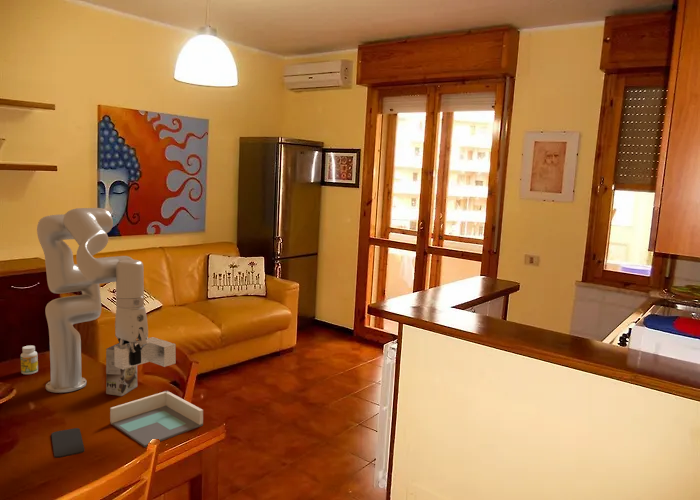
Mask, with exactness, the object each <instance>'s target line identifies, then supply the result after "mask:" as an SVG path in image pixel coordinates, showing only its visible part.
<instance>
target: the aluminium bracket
mask: <svg viewBox="0 0 700 500" xmlns="http://www.w3.org/2000/svg"><path fill="white" fill-rule="evenodd" d="M146 342H147V344H146V345H145V346H144V347H143V348H142V351H141V363H140V364H136V365H133V366H137V367H138V366H139V365H143V364H146V363H149V362H150V363H153V364H155V365H158V366H161V367H164V368H166V367H168V366H172V365H175V364H176V349H177V348H176V346H177V345H176V343H172V342H170V341H168V340H164V339H160V338H157V337H154V336H153V337H152V336H151V337H148V339H147V340H146ZM137 344H138V343H135V346H136V345H137ZM130 352H132V349H131V343H127V344H123V345H119V346H115V347H114V358H115V367H117V368H120V369H122V370H123V369H127V368H130V367H133V366H132V365H131V364H130Z"/></svg>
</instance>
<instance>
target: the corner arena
mask: <svg viewBox="0 0 700 500" xmlns="http://www.w3.org/2000/svg"><path fill="white" fill-rule="evenodd" d="M109 411H110V412H109V419H110V420H109V421H110V425H112V426H113V427H114V428H116V429H117V430H119V431H121V432H122V433H124V434H125V435H126V436H128V437H129V438H131V439H132V440H134V441H135V442H136V443H138V444H140V445H141V446H142V447H144V448H147V447H148V446H147V445H148V443H149V442H150V441H151V440H152V439H159V440H160V442H162V441H165V440H167V439H170V438H173V437H176V436H178V435H182V434H185V433H187V432H189V431H191V430H194V429H197V428H199V427H202V426H203V425H204V409H202V408H201V407H199V406H196V405H195V404H193V403H191V402H189V401H187V400H185V399H183V398H182V397H180V396H178V395H176V394H174V393H172V392H170V391H169V390H164V391H162V392H159V393H158V392H157V393H154V394H152V395H148V396H145V397H141V398H139V399H135V400H132V401H129V402H125V403H122V404H118V405H116V406H112V407H110V408H109Z"/></svg>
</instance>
